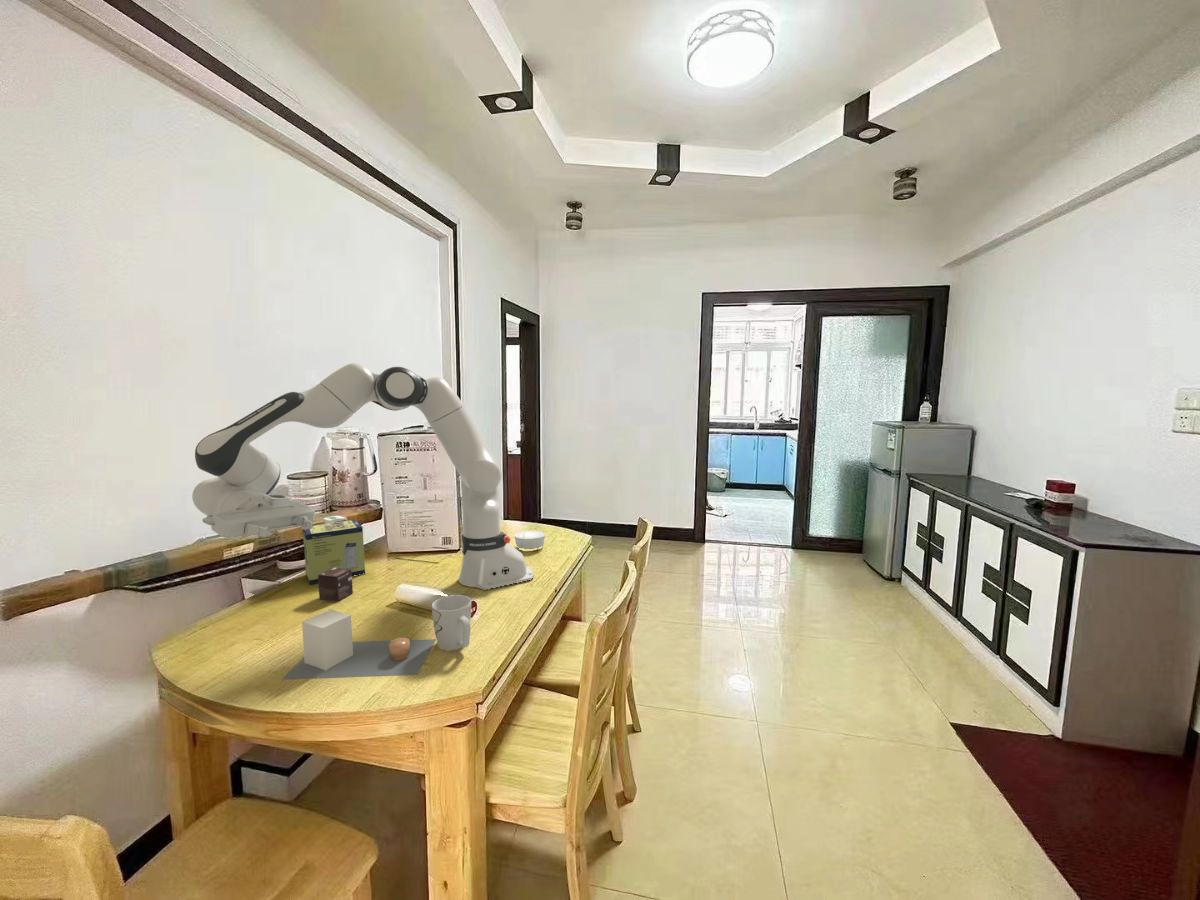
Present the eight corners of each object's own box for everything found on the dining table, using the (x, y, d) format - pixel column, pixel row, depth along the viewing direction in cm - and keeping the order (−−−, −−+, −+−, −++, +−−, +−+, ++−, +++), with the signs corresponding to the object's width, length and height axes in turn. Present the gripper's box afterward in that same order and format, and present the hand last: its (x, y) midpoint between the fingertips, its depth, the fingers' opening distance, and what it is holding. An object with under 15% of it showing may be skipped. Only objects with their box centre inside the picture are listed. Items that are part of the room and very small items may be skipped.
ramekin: (509, 547, 178) (508, 533, 178) (534, 541, 186) (534, 528, 185) (524, 555, 170) (524, 540, 169) (551, 548, 177) (551, 535, 176)
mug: (486, 650, 106) (485, 607, 105) (450, 665, 100) (449, 619, 99) (460, 632, 114) (459, 591, 113) (426, 644, 108) (425, 602, 107)
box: (337, 602, 130) (336, 576, 129) (318, 600, 131) (317, 574, 131) (353, 593, 136) (352, 568, 135) (335, 591, 137) (333, 567, 136)
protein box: (304, 575, 150) (301, 526, 148) (359, 564, 159) (357, 519, 157) (308, 585, 142) (305, 534, 140) (366, 574, 151) (363, 526, 149)
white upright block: (333, 648, 106) (330, 609, 105) (353, 655, 103) (350, 615, 102) (304, 662, 100) (301, 621, 99) (325, 670, 97) (322, 628, 96)
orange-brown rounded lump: (410, 650, 105) (409, 636, 105) (409, 659, 101) (409, 645, 101) (390, 653, 104) (389, 639, 103) (389, 663, 100) (388, 648, 100)
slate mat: (436, 640, 110) (435, 639, 110) (417, 676, 96) (417, 674, 96) (318, 644, 108) (318, 642, 108) (281, 681, 94) (281, 679, 94)
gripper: (199, 504, 101) (242, 523, 96) (293, 494, 120) (332, 510, 115) (195, 532, 101) (237, 553, 96) (289, 519, 120) (328, 535, 116)
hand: (289, 529), depth 106 cm, fingers open, 8 cm apart
